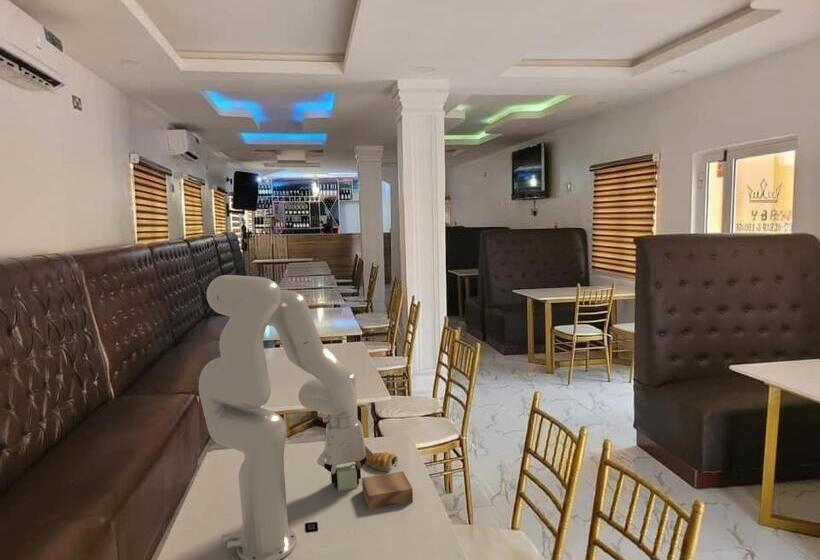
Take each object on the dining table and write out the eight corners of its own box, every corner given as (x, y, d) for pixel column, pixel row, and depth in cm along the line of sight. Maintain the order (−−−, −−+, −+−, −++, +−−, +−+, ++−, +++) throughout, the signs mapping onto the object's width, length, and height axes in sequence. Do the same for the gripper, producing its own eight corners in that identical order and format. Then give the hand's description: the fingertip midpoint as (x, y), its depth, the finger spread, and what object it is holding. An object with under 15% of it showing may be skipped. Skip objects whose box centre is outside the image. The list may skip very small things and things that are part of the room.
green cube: (338, 491, 141) (337, 473, 140) (335, 481, 146) (334, 464, 145) (357, 487, 142) (356, 470, 141) (353, 478, 147) (353, 461, 146)
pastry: (360, 468, 153) (359, 455, 152) (370, 457, 159) (370, 445, 158) (390, 473, 149) (390, 460, 149) (400, 462, 155) (399, 450, 155)
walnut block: (369, 511, 132) (369, 496, 131) (362, 492, 141) (362, 477, 140) (412, 503, 135) (412, 488, 134) (403, 485, 144) (403, 471, 143)
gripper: (311, 429, 135) (315, 496, 138) (378, 419, 140) (380, 484, 143) (308, 417, 142) (312, 481, 145) (372, 409, 147) (374, 471, 150)
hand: (346, 482), depth 144 cm, fingers closed on green cube, 5 cm apart
